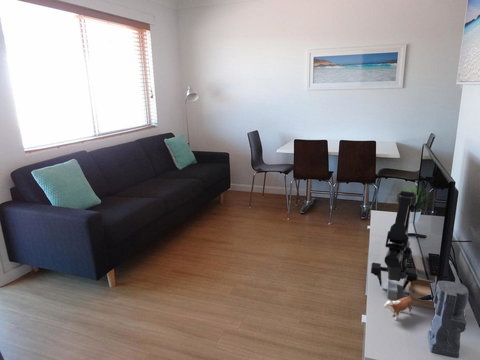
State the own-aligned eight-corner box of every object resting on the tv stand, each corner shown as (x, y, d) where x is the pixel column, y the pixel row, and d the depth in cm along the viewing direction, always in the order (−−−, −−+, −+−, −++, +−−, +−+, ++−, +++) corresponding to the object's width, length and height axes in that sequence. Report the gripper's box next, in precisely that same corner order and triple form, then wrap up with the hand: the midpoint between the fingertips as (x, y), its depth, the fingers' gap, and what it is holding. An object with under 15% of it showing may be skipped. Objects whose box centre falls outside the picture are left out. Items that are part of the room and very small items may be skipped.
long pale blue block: (387, 282, 165) (388, 274, 163) (395, 283, 163) (396, 275, 162) (387, 298, 153) (388, 290, 152) (396, 300, 152) (397, 292, 150)
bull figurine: (380, 316, 142) (382, 299, 139) (406, 308, 146) (408, 291, 144) (388, 323, 138) (390, 305, 135) (415, 314, 142) (417, 297, 140)
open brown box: (407, 282, 164) (408, 276, 163) (434, 286, 160) (435, 281, 159) (410, 304, 148) (410, 298, 148) (440, 309, 144) (441, 303, 144)
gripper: (371, 262, 150) (369, 294, 155) (420, 269, 143) (416, 302, 148) (372, 250, 160) (370, 280, 164) (418, 256, 153) (414, 288, 158)
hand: (391, 287), depth 158 cm, fingers open, 9 cm apart
